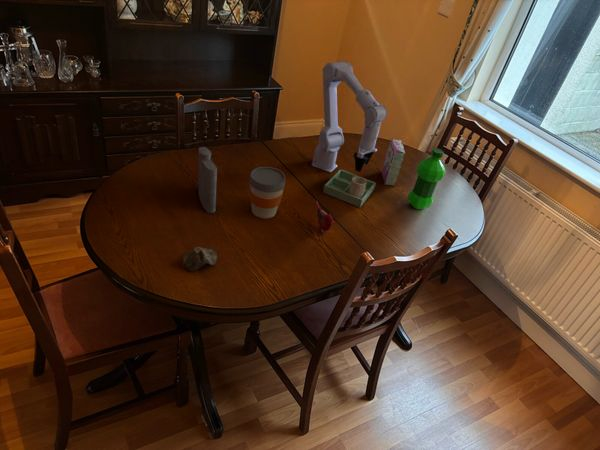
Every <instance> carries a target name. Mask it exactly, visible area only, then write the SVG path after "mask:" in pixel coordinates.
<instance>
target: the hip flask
mask: <svg viewBox="0 0 600 450" xmlns="http://www.w3.org/2000/svg"><path fill="white" fill-rule="evenodd" d="M211 156H212V151H211V150H210V149H209V148H208V147H206V146H201V147H199V148H198V184H197V185H198V189H197V191H198V198H199V201H200V204H201V205H202V207H203V209H204V210H205V211H206V213H208V214H214V213H215V212H216V203H217V182H218V180H217V178H218V167H217V165H215V164H214V162H213V160H212V158H211Z"/></svg>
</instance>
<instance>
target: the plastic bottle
mask: <svg viewBox="0 0 600 450" xmlns="http://www.w3.org/2000/svg"><path fill="white" fill-rule="evenodd" d="M444 153H445V151H444V150H443V149H441V148H438V147H434V148H432V150H431V153H430V155H431V156H430V157H427V158H424V159H422V160H421V161H420V162H419V164H418V165H417V167H416V173H417V176H416V177H417V178H416V181H415V183H414V186H413V188H412V190H411V191H410V192H409V193H408V196H407V197H408V198H407V199H408V202H409V203H410V205H411V206H412V208H414V209H416V210H424V209H428V208H430V207H431V205H432V204H433V202H434V193H435V190H436V187H437V185H438V183H439V182H440V181H442V179H443V178H444V176H445V174H446V167H445V165H444V164H443V162H442V160H441V158H443V156H444Z"/></svg>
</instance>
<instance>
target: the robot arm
mask: <svg viewBox="0 0 600 450" xmlns="http://www.w3.org/2000/svg"><path fill="white" fill-rule="evenodd" d="M341 82H343V83H345V85H346V86H348V88H349V89H350V90H351V92H352V93H353V94H354V95H355V101H356V103H357V104H358V105H359V107H360V108H361V109H362V111H363V112H364V113H363V114H364V126H363V130H362V134H361V139H360V142H359V145H358V151H357V152H356V151H355V152H354V153H353V159H354V163H355V164H354V170H355V171H356V172H359V173H361V172H362V170H363V168H364V166H365V165H368V164H369V162H370V160H371V159H372V157H373V155H374V153H376V152H377V151H378V148H377V147H376V143H377V140H378V137H379V134H380V128H381V125H382V122H383V121H384V120H385V119H386V118H387V117H388V110H387V108H386V106H385V105H384V104H382V103H380V102H378V101H377V100H376V98H375V97H374V96H373V95H372V92H371V91H370V90H368V89H365V88H363V86H362V85H361V83H360V81H359V80H358V79H357V77H356V74H354V67H353V65H351V63H350V62H349V61H347V60H344V61H336V62H326V63H325V65H324V66H323V68H322V95H323V119H324V126H323V127H322V129H321V130H320V131H319V137H318V144H317V145H316V147H315V149H314V152H313V157H312V163H311V166H312V167H314V168H317V169H320V170H322V171H325V172H327V173H332V172H333V171H334V170H335V169H336V168H338V165H339V164H336V161H337V157H338V153H339V150H340V149H341V147H342V146H343V145H344V143H345V137H344V134H343V129H342V128H341V127H340V126H339V121H338V91H337V87H338V86H339V84H341Z"/></svg>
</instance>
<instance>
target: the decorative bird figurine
mask: <svg viewBox="0 0 600 450" xmlns="http://www.w3.org/2000/svg"><path fill="white" fill-rule="evenodd" d="M315 204H316V209H317V210H316V211H317V213H316V214H317V215H316V216H317V222H318V225H319V229H320V231H321V233H322V234H323V235H325V234H324V231H326V232H327V231H330V229H331V227H332V226H333V223H334V218H333V216H332V215H331V214H330V213H329V214H328V213H327V212H326V211H324V210H323V209H322V208H321V207H320V205H319V203H318V200H317V199H315Z"/></svg>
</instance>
